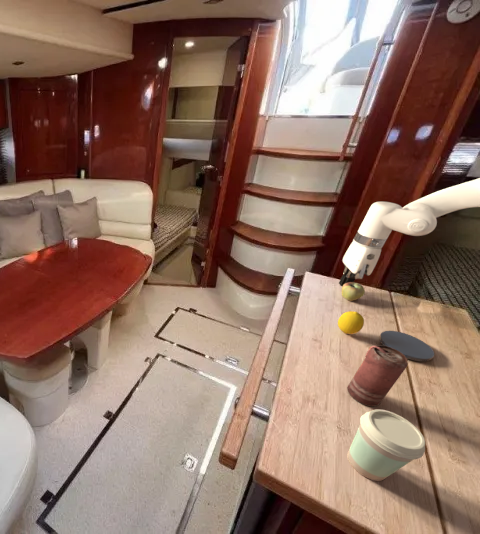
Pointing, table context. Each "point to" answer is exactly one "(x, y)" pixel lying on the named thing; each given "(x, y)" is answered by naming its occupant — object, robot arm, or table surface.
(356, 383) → the can
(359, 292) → the apple
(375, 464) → the coffee cup
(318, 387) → the table surface
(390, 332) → the plate
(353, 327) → the lemon
